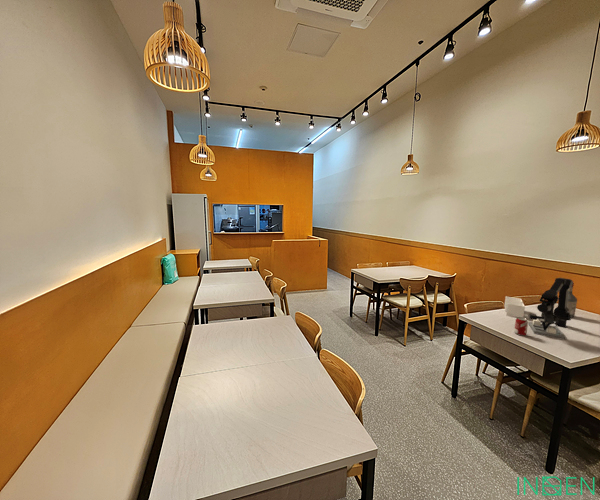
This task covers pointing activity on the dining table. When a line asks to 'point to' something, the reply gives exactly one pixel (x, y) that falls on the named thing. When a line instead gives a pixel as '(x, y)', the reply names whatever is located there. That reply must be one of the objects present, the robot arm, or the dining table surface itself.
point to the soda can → (521, 326)
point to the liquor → (571, 302)
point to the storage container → (514, 307)
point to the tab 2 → (551, 330)
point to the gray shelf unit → (541, 331)
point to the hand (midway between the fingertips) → (544, 329)
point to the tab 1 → (536, 322)
